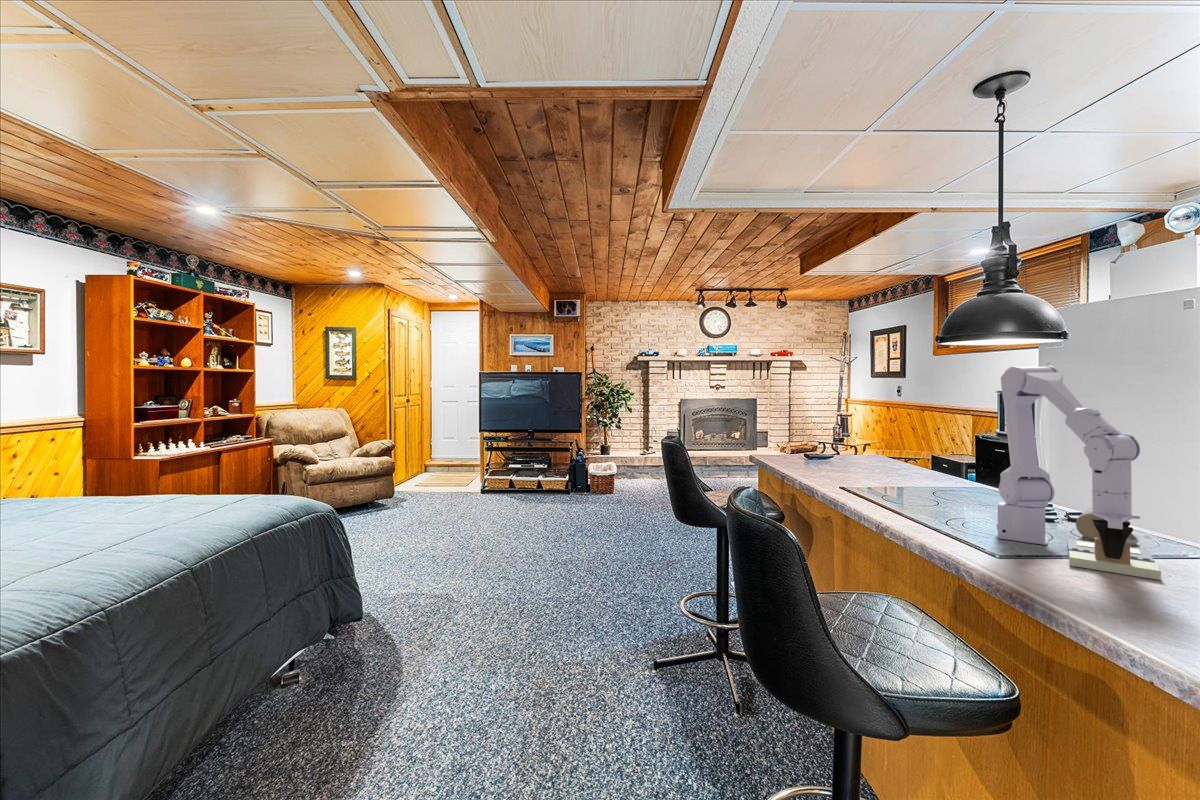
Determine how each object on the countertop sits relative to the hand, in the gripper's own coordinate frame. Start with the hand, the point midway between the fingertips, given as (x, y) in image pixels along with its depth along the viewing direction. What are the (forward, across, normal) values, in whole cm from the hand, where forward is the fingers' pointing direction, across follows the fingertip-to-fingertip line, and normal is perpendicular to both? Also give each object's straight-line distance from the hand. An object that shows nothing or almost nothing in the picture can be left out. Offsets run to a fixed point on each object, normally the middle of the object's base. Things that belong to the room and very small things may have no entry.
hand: (1111, 555), depth 103 cm
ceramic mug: (+3, +28, -1) cm, 28 cm away
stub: (+3, 0, 0) cm, 3 cm away
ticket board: (+3, +10, 0) cm, 10 cm away
